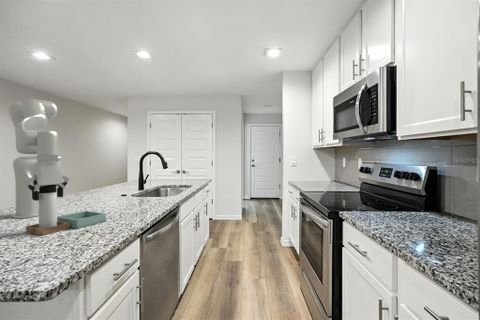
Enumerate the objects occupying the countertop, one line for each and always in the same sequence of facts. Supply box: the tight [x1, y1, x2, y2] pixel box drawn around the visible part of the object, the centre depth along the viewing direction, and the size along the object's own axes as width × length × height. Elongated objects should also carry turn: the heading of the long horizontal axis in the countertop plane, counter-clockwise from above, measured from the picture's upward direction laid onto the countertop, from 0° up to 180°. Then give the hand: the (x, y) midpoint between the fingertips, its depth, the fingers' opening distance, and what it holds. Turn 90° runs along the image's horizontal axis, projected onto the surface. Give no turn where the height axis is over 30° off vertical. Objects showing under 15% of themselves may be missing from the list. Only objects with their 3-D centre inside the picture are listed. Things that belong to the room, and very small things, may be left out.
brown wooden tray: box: [25, 221, 70, 236], centre depth 114 cm, size 11×11×2 cm
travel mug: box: [38, 185, 58, 229], centre depth 114 cm, size 6×7×20 cm
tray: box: [57, 210, 107, 230], centre depth 126 cm, size 14×14×4 cm
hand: (48, 198), depth 114 cm, fingers open, 9 cm apart
